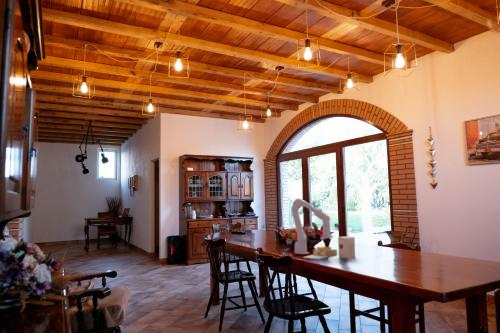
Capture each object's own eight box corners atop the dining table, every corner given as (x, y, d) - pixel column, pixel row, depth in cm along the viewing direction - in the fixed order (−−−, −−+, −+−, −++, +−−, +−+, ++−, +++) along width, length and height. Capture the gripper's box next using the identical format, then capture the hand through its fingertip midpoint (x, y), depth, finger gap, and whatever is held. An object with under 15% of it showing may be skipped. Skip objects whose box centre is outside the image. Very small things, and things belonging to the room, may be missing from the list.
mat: (303, 257, 269) (302, 257, 269) (312, 255, 278) (312, 254, 278) (318, 259, 259) (318, 258, 259) (328, 256, 268) (328, 256, 268)
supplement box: (338, 257, 265) (337, 237, 266) (345, 256, 271) (344, 236, 272) (349, 258, 258) (348, 238, 259) (355, 257, 264) (354, 236, 265)
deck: (313, 255, 278) (313, 249, 279) (321, 253, 287) (321, 248, 287) (328, 256, 269) (328, 251, 269) (337, 254, 277) (336, 249, 277)
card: (317, 249, 278) (317, 247, 279) (321, 248, 283) (321, 246, 283) (327, 250, 272) (326, 248, 272) (331, 249, 276) (331, 247, 277)
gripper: (325, 231, 274) (326, 249, 273) (335, 230, 284) (336, 247, 283) (318, 231, 279) (318, 248, 278) (328, 229, 289) (328, 246, 288)
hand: (327, 248), depth 281 cm, fingers closed
